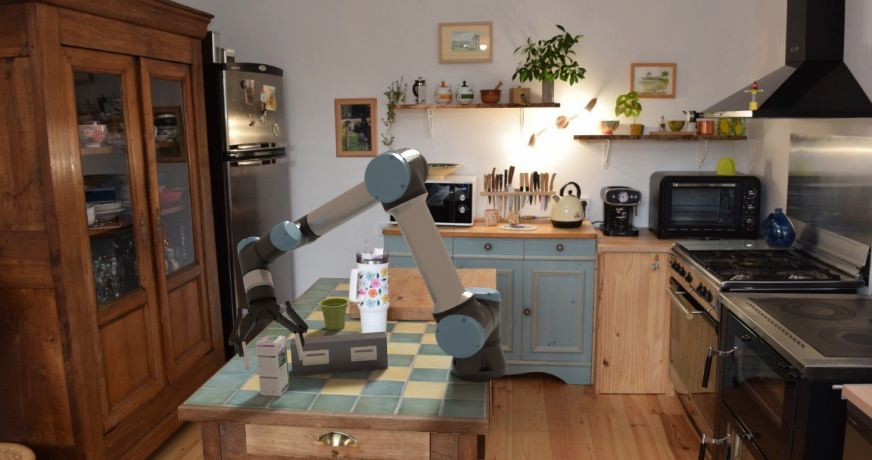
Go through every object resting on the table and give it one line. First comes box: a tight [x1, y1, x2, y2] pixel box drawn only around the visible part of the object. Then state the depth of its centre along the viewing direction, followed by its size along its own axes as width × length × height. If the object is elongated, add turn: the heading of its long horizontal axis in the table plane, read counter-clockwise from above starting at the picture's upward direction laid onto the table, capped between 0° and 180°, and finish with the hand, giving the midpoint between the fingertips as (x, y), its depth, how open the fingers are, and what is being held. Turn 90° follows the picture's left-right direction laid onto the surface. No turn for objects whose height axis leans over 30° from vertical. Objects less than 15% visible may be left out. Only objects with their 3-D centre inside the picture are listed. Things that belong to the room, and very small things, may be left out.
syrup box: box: [255, 334, 291, 397], centre depth 174 cm, size 6×6×14 cm
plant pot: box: [318, 297, 349, 331], centre depth 222 cm, size 9×9×9 cm
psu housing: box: [290, 331, 389, 377], centre depth 188 cm, size 26×6×9 cm, turn 99°
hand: (275, 362), depth 172 cm, fingers open, 13 cm apart
